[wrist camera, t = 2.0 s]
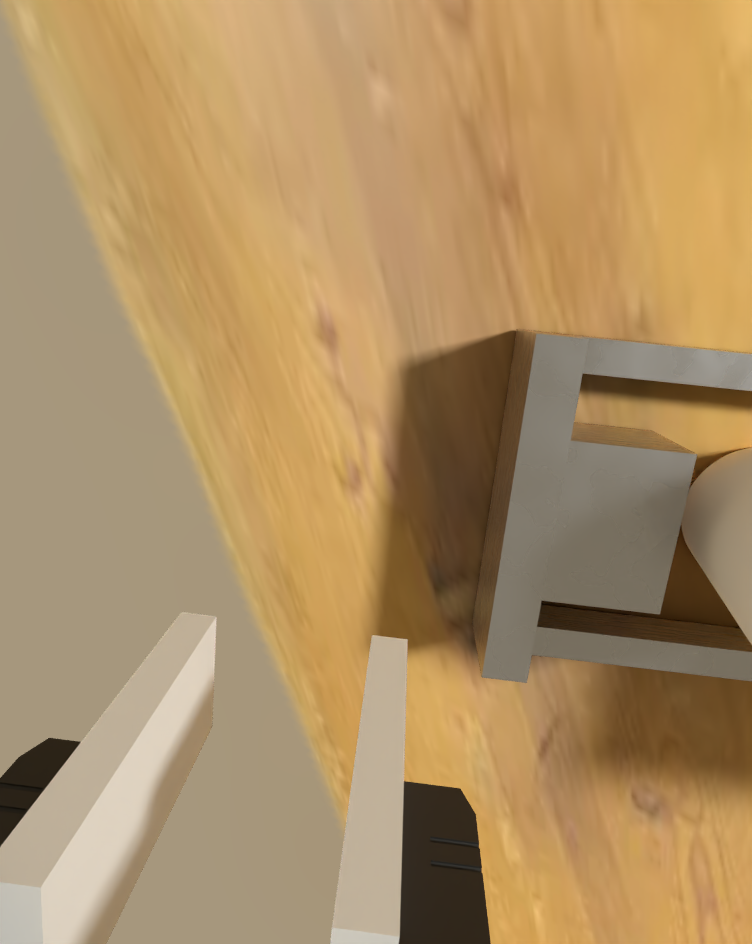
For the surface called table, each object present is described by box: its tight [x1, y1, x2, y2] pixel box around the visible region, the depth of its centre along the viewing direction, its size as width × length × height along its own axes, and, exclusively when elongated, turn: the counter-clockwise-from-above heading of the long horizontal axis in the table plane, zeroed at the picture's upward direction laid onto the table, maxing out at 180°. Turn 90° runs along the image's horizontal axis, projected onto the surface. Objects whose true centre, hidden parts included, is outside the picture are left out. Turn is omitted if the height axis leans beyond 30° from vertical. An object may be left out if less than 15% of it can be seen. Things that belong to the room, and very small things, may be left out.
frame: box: [472, 329, 752, 683], centre depth 29 cm, size 15×17×5 cm
